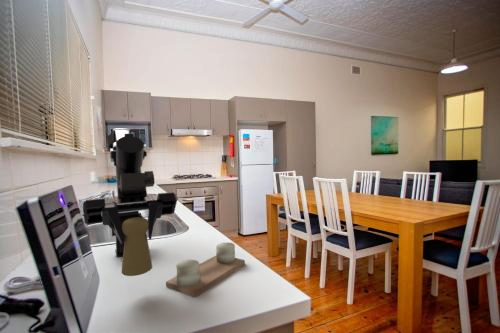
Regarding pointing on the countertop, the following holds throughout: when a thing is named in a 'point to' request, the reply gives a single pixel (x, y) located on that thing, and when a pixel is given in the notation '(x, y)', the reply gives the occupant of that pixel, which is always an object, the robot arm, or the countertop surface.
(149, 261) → the olive pepper mill
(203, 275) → the spice board
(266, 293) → the countertop surface
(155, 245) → the countertop surface
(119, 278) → the countertop surface
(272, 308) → the countertop surface
